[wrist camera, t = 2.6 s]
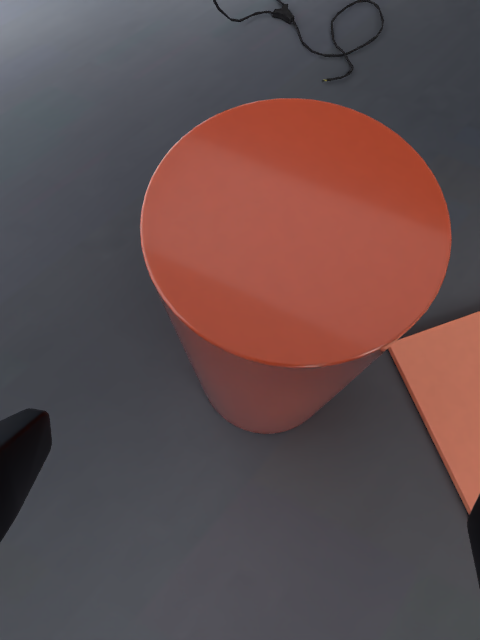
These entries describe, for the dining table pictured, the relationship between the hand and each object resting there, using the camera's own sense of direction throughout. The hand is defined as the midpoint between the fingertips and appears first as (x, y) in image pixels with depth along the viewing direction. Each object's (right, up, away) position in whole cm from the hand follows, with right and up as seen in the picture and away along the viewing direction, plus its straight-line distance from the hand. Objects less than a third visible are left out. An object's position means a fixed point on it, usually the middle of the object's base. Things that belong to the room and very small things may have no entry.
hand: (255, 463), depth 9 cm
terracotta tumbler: (+1, +1, +12) cm, 12 cm away
